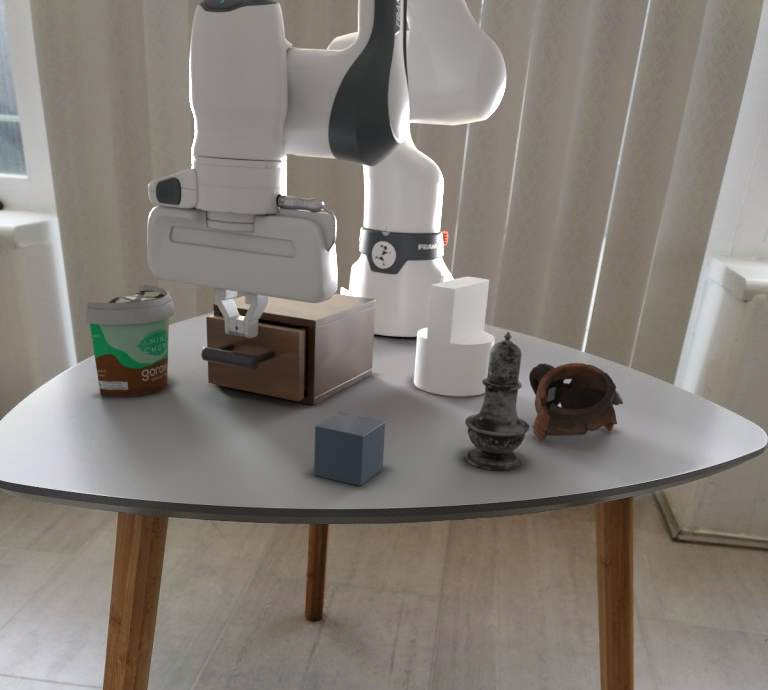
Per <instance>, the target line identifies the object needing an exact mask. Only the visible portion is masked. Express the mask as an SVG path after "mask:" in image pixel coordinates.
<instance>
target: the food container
mask: <svg viewBox="0 0 768 690" xmlns="http://www.w3.org/2000/svg"><path fill="white" fill-rule="evenodd" d="M174 305H175V304H174V301H173V298H172V297H171V295H170V293H169V291H168V289H166V288H164V287H160V286H157V285H153V284H145V283H138V291H137V292H136V293H133V294H131V295H121V296H119V295H118V296H116V297H113V298H112V299H111V300H109V301H108V302H95V301H86V311H85V323H86V324H89V327H90V334H91V341H92V347H93V349H92V350H93V355H94V361H95V368H96V374H97V381H98V388H99V394H100V396H103V397H123V398H124V397H138V396H145V395H150V394H155V393H156V392H157V393H158V392H160V391H162V390H164V389H165V388H166V387H167V386H168V376H169V375H168V374H169V372H168V371H169V370H168V369H169V335H170V334H169V328H170V318H171V317H173V316H174V315H175V314H176V309H175V306H174Z"/></svg>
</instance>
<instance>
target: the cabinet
mask: <svg viewBox="0 0 768 690" xmlns="http://www.w3.org/2000/svg"><path fill="white" fill-rule="evenodd" d="M233 300H234V302H235V305H236V307H237V310H238V312H239V316H245V315H246V313H247V311H248V309H249V307H250V304H246V303H245V295H243V296H238V297H237V298H233ZM212 305H213V307H212V309H213V315H216V316H222V317H223V315H222V313H221V311H220V309H219V307H218V305H217V304H216V303H213V304H212ZM375 305H376V299H370V298H363V297H356V296H350V295H343V294H341V293H336V292H335V294H334V295H333V296H332V297H331V298H330V299H329V300H326V301H323V302H319V303H308V302H302V301H295V300H289V299H282V298H276V297H269V296H268V304H267V306H266V308H265V310H264V311H263V313H262V315H261V317H260V318H259V319H263V320H269V321H275V322H281V323H287V324H293V325H299V326H305V327H309V339H308V390H307V391H305V392H304V399H302V400H300V401H294V400H289V399H284V398H279V397H274V396H270V395H265V394H260V393H255V392H250V391H245V390H240V389H235V388H230V387H225V386H220V385H216V386H217V387H222V388H227V389H231V390H237V391H242V392H247V393H250V394H251V393H252V394H256V395H261V396H266V397H271V398H277V399H281V400H287V401H291V402H296V403H301V404H305V405H311V406H315V405H317V404H318V403H321V402H322V401H324V400H326V399H328V398H330V397H332V396H334V395H336V394H338V393H340V392H342V391H343V390H345V389H347V388H350V387H351V386H353V385H355V384H357V383H359V382H360V381H362V380H364V379H367V378H368V377H370V376H372V375H373V362H374V361H373V358H374V342H375V334H374V324H375Z"/></svg>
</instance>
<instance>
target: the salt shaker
mask: <svg viewBox="0 0 768 690" xmlns="http://www.w3.org/2000/svg"><path fill="white" fill-rule="evenodd" d="M503 337H504V340H501V341H500V342H496V343H494V345H493V347H492V348H491V350H490V357H489V366H488V375H487V378H486V379H484V380H483V381H482V383H483V384H484V385H485V393H483V394H484V396H483V403H482V405H481V408H480V410H479V412H478V413H475V414H471V415H469V416H468V417H466V418H465V421H464V423H465V425H466V427H467V434H468V438H469V441H470V442H471V443H472V445H473V446H474V447H475V448H472V449H471V450H469V451H467V452H465V454H464V460H465V462H467V464H469V465H472V466H473V467H476V468H479V469H482V470H487V471H497V472H498V471H499V472H500V471H501V472H503V471H505V472H506V471H511V470H515V469H517V468H520V466H522V459H521V458H520V456H519V455H517V454H516V453H515V452H514V451H515V450H517V449H518V448H519V447H520V446H521V445H522V443H523V441H524V440H525V436H526V434H527V433H528V432H529V431H530V425H529V423H528V422H527V421H526V420H524V419H523V418H522V419H521V418H519V417H518V412H517V411H518V410H517V401H518V395H519V394H518V393H519V390H520V389H521V388H522V387H523V383H522V382H521V381H519V378H520V372H521V364H522V363H521V362H522V357H523V356H522V355H523V354H522V349H521V347H520V346H518V344H516V343H515V342H513V341H512V340H511V339H512V338H513V336H512V335H511V333H510V331H507V332H506V333H505V335H503Z"/></svg>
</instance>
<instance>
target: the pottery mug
mask: <svg viewBox="0 0 768 690" xmlns="http://www.w3.org/2000/svg"><path fill="white" fill-rule="evenodd" d="M565 380H570V382H569V383H566V382H565ZM529 383H530V386H531V389H532V391H533V393H534V395H535V397H534V409H535V412H536V414H537V415H536V417H535V419H534V422H533V425H532V433H533V434H534V436H535V437H537V439H538V440H539V441H540V442H543V441H544V440H545V439H546V438H547V436H550V437H551V436H552V437H560V436H561V437H562V436H584V435H586V434H588V431H591V432H595V431H598V430H599V429H600V428H603V427H604V428H605V429H606V430H607V431H608V432H612V431H613V428H614V426H615V425H618V420H617V414H616V411H615V408H614V406H619V405H623V404H624V401H623V398H622V396H621V395H620V393H619V392H618V390H617V386H616V383H615V382H614V381H613V378H612V377H611V376H610V375H609V374H608V373H607V372H605V371H604V370H603V369H601V368H599V367H597V366H595V365H592V364H587V363H584V362H569V363H565V364H562V365H558V366H556V367H555V366H554V365H551V364H548V363H539V364H537V365H536V366H533V367H532V369H531V371H530V372H529ZM559 405H560V406H559Z"/></svg>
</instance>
